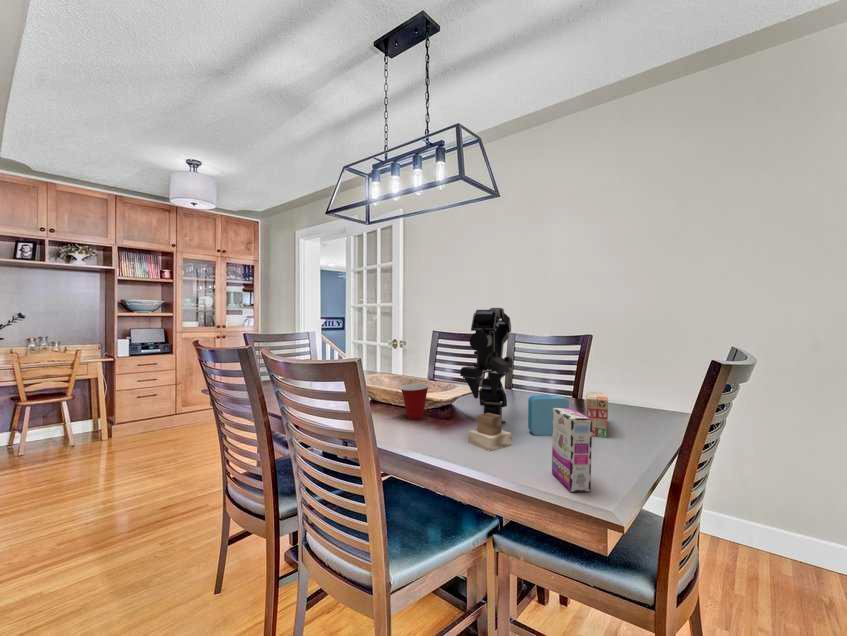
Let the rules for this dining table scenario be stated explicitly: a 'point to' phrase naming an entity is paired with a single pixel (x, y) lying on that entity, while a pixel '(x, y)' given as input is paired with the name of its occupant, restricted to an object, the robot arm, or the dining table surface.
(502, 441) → the maple base block
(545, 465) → the dining table surface
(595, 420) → the stack of blocks
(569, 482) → the candy bar box
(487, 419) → the walnut cube
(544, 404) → the blue flat block
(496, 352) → the robot arm
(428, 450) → the dining table surface
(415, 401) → the plastic cup
